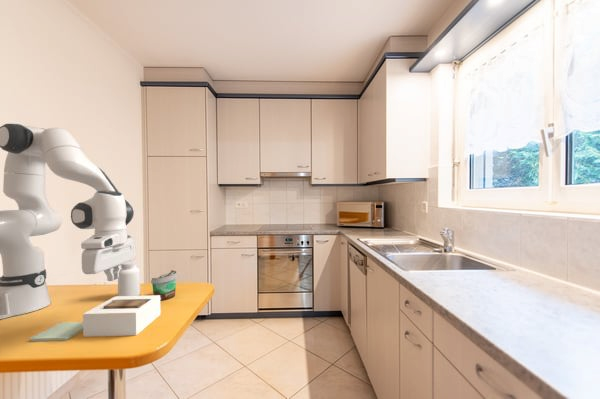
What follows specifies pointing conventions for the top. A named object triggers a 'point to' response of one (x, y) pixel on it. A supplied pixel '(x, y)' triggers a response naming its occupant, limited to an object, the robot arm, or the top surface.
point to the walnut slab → (124, 304)
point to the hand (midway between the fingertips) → (113, 279)
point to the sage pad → (59, 332)
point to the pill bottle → (129, 280)
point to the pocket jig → (121, 317)
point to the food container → (165, 285)
